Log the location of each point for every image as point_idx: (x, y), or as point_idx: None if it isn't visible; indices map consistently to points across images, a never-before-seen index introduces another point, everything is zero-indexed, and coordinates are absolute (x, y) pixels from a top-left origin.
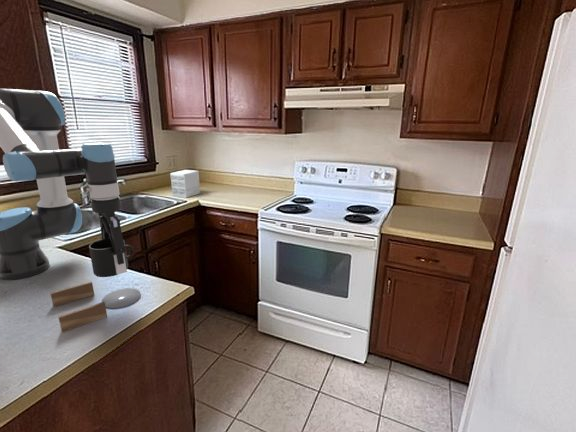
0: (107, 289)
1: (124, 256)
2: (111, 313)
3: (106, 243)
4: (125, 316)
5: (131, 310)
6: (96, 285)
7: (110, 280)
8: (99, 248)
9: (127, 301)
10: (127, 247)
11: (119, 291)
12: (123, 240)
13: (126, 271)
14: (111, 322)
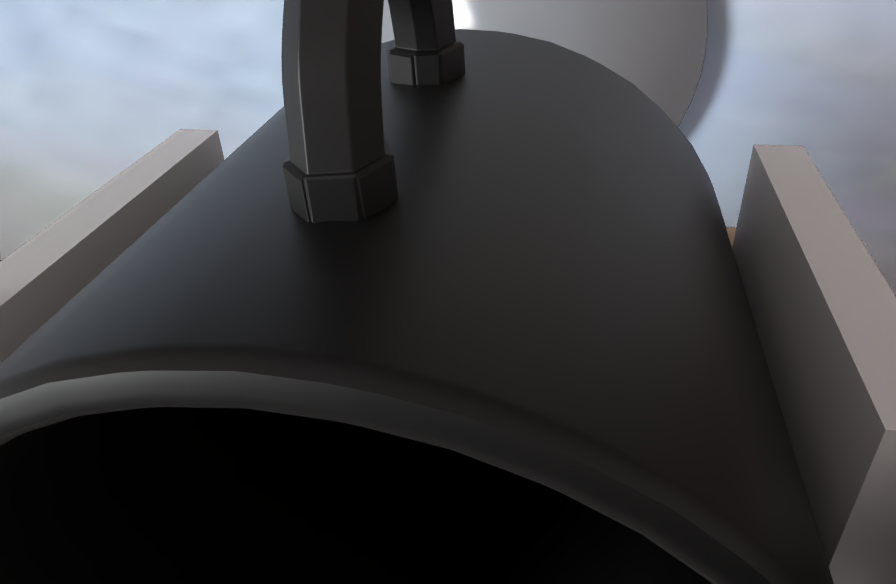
0: (250, 102)
1: (686, 237)
2: (716, 191)
3: (38, 522)
4: (880, 117)
5: (826, 39)
6: (127, 154)
7: (69, 29)
8: (146, 560)
9: (656, 31)
10: (381, 112)
11: (385, 35)
12: (367, 417)
13: (801, 154)
14: (860, 229)
